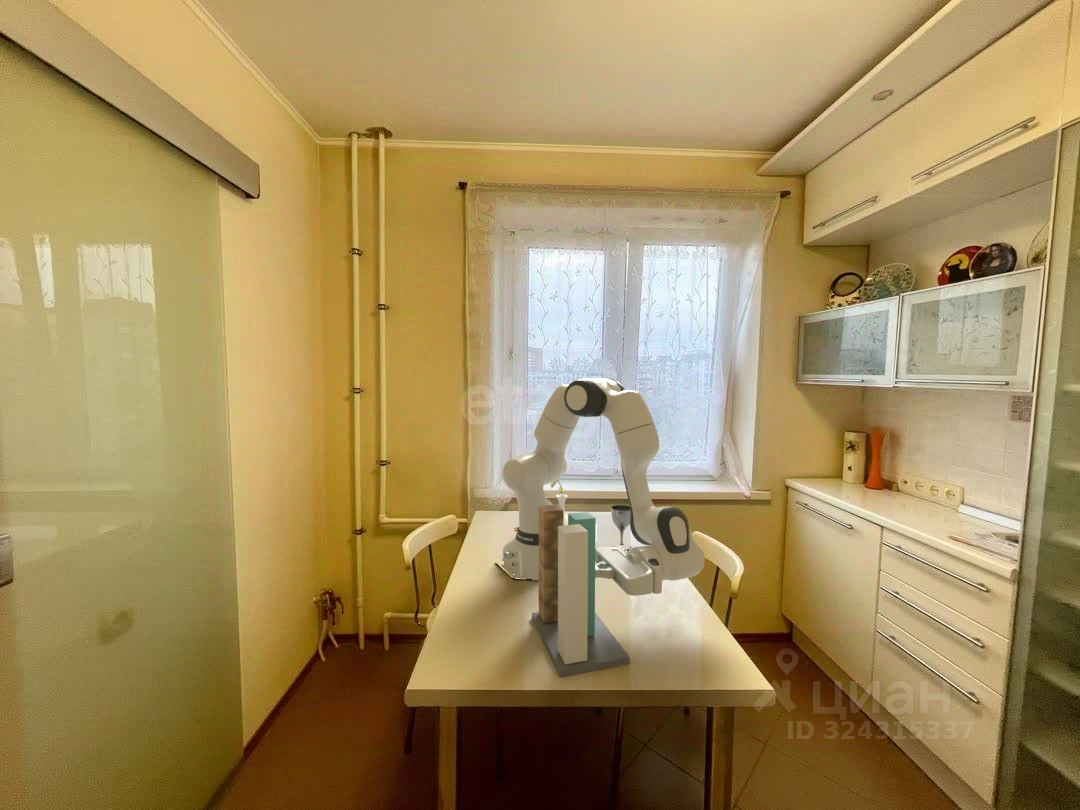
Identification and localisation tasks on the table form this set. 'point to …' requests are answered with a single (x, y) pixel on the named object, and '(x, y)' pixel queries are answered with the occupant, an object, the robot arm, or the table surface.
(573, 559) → the cream post
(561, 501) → the flower in vase
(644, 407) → the robot arm
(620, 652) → the board
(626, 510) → the wine glass
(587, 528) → the teal post
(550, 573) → the walnut post
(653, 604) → the table surface
